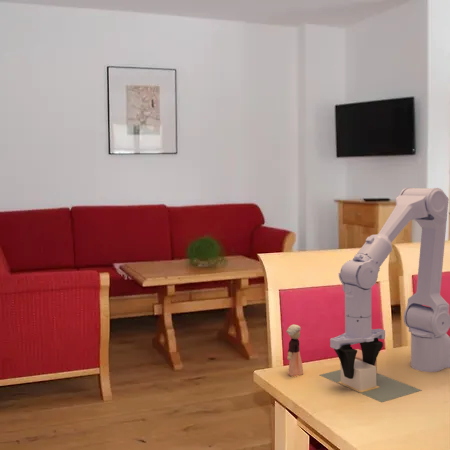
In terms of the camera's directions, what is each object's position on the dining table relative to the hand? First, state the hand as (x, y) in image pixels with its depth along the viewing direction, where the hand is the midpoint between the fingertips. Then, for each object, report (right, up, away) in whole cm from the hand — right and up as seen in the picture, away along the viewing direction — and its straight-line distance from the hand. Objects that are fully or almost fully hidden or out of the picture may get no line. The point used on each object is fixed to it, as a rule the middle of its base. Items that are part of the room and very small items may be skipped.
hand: (358, 374), depth 131 cm
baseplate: (+3, -3, +2) cm, 4 cm away
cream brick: (0, -2, 0) cm, 2 cm away
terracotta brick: (+2, -2, +8) cm, 9 cm away
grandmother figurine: (-13, -3, +9) cm, 16 cm away
